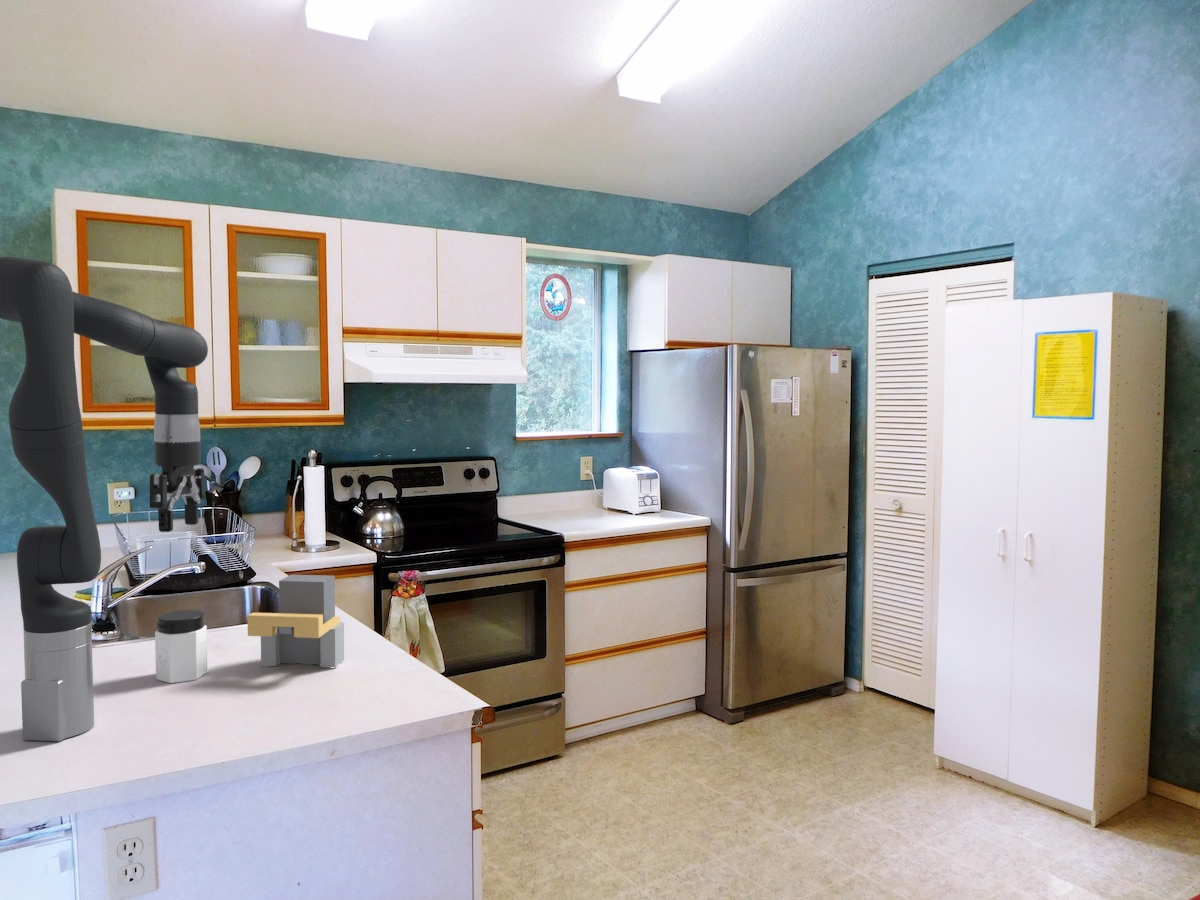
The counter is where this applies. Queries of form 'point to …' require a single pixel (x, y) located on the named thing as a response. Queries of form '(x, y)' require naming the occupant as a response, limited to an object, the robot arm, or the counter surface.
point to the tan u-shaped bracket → (289, 624)
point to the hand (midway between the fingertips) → (179, 527)
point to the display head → (305, 599)
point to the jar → (181, 646)
